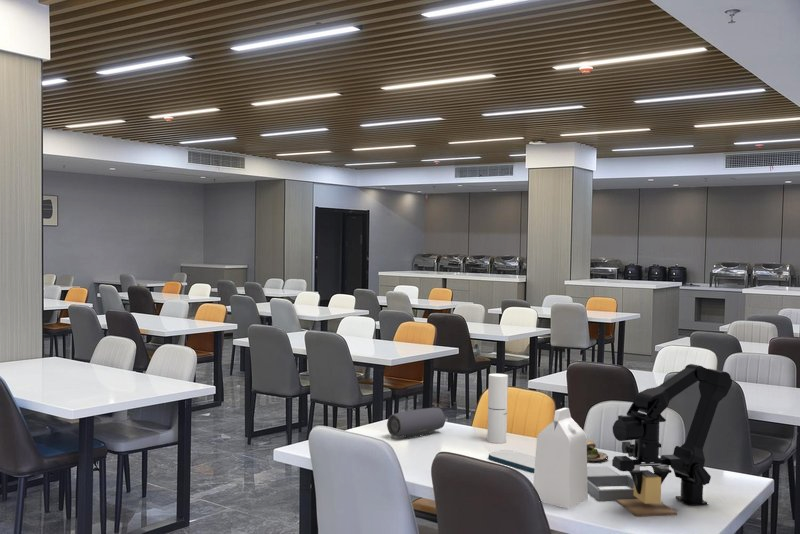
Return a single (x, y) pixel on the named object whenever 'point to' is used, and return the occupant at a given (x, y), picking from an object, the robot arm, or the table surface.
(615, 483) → the equipment case
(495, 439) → the cylindrical container
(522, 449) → the table surface
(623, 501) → the walnut board
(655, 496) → the ochre module
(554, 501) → the milk
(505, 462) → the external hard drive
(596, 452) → the burger
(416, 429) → the bluetooth speaker
